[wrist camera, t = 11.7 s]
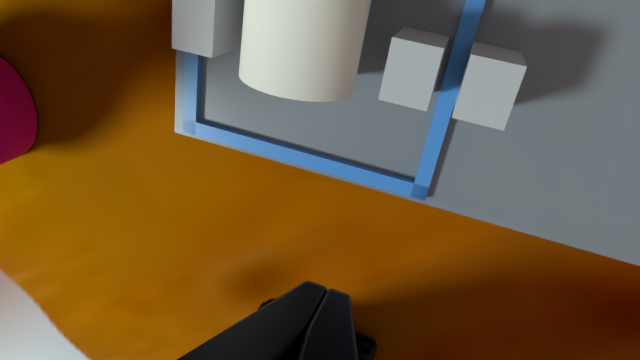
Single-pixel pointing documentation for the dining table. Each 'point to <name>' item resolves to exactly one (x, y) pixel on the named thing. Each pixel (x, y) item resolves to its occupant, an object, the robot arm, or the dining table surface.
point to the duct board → (451, 111)
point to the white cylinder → (303, 47)
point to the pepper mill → (15, 115)
